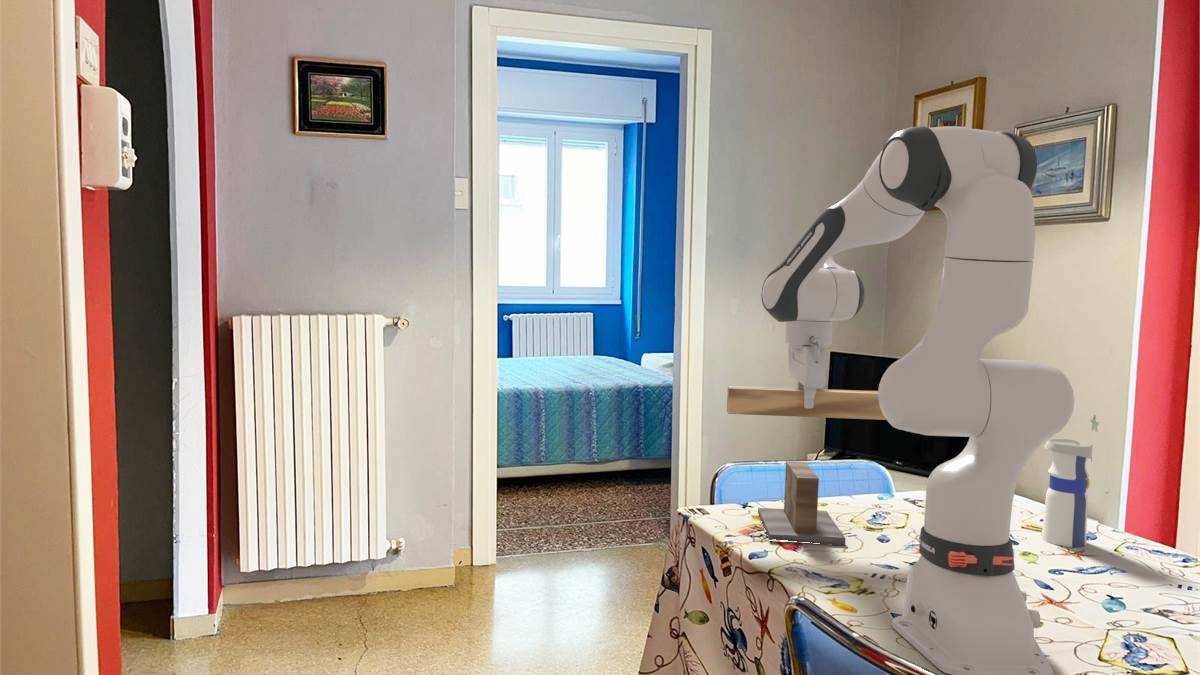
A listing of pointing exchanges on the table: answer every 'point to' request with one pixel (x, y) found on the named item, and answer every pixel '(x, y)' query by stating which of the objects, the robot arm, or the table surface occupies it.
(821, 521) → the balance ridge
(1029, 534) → the table surface
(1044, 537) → the water bottle
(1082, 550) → the table surface
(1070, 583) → the table surface
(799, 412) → the oak rod
